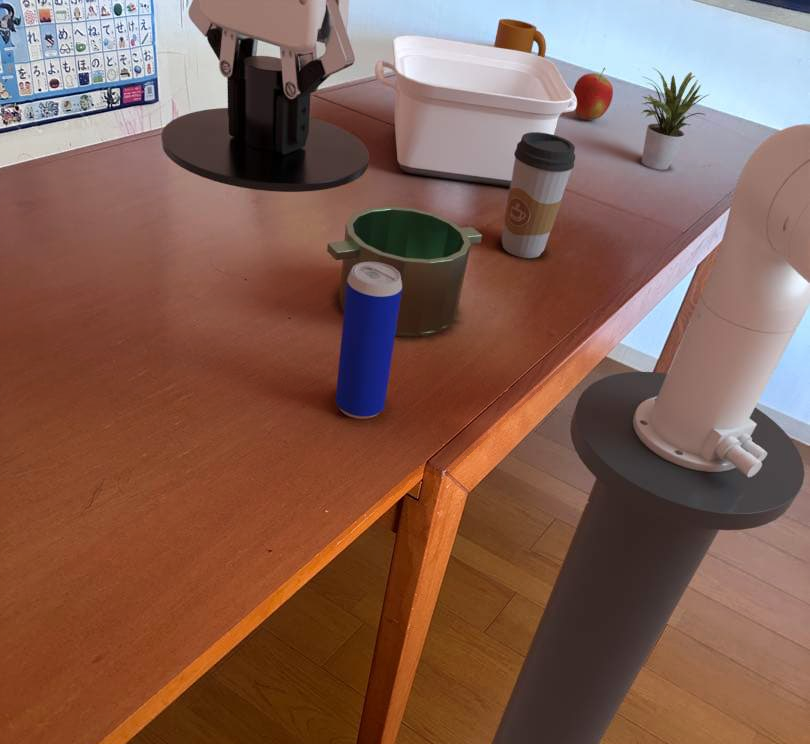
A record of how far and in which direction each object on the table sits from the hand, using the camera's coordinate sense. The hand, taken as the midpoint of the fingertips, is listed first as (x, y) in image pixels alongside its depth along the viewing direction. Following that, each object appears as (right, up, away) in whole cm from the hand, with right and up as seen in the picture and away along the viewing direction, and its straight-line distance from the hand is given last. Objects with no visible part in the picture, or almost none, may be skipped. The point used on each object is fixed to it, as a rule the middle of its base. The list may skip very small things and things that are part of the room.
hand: (267, 138), depth 63 cm
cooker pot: (+10, -2, +40) cm, 41 cm away
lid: (0, -1, +1) cm, 1 cm away
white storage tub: (+21, +36, +81) cm, 91 cm away
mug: (+37, +81, +130) cm, 157 cm away
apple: (+49, +58, +109) cm, 133 cm away
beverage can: (+6, -17, +23) cm, 29 cm away
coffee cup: (+28, +12, +57) cm, 65 cm away
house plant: (+58, +42, +95) cm, 119 cm away
